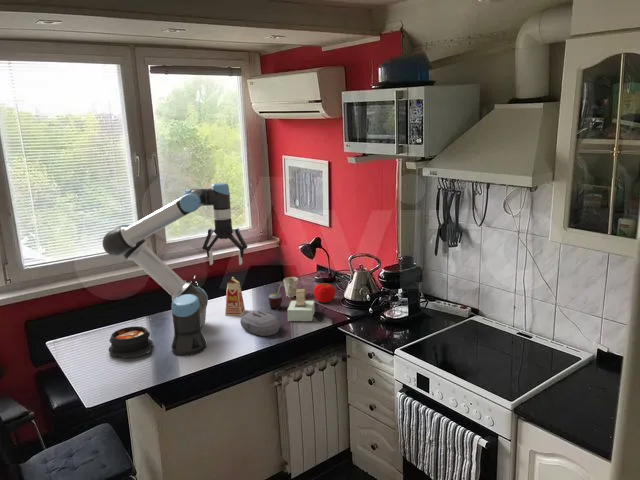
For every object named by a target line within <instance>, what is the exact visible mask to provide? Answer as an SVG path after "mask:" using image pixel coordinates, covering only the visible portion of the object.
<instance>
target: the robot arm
mask: <svg viewBox="0 0 640 480" xmlns="http://www.w3.org/2000/svg"><path fill="white" fill-rule="evenodd" d="M204 206H205V207H206V206H209V207H210V206H212V207H213V218H214V222H213V223H214V229H213V228H209V229H208V230H207V236H206V238H205V240H204V242H203V245H202V250H205V251H206V256H207V258H208V259H209V266H212V265H213V264H214V255H213V249H212V247H213V246H214V245H215V244H216V242H217V241H218V239H220V240H228V239H229V240H230V242H232V243H233V244H234V245H235V247H236V248H237V249H238V265H239V266H242V264H243V258H244V257H245V250H246V249H248V244H247V243H246V242H245V239H244V237H243V236H242V234H241V231H240V228H239V227H238V228H233V223H232V221H233V220H232V218H231V217H232V209H231V193H230V186H229V184H228V183H224V182H222V183H221V182H220V183H219V182H218V183H213V184H211V188H190V189H186V190H184V193H183V196H181V197H179V198H177V199H176V200H173V201H172V202H170V203H168V204H166V205H164V206H163V207H161V208H159V209H157V210H155V211H154V212H152V213H150V214H149V215H146V216H145V217H143V218H141V219H139V220H138V221H136V222H133V223H132V224H127V223H126V224H121V225H119V226H117V227H115V228H114V229H112V230H110V231H108V232H107V233H106V234H105V235H104V236H103V240H102V247H103V250H104V251H105V253H106V254H108V255H109V256H112V257H121V256H122V257H123V258H125V260H127V261H133V262H134V263H135V264H136V265H138V266H139V268H141V269H142V270H143V271H144V272H145V273H146V274H147V275H148V276H149V277H150V278H152V279H153V280H154V282H156V283H157V284H158V285H159V286H161V288H163V290H164V291H166V292H167V293H168V294H169V295H170V296H171V301H172V302H171V306H170V307H171V314H172V322H173V324H172V325H173V332H174V335H173V338H172V342H171V353H172V354H173V355H175V356H180V357H181V356H183V357H186V356H193V355H194V356H195V355H197V354H201V353H202V352H204V351H205V350H207V348H208V345H207V343H208V342H207V340H206V337H205V335H204V333H203V331H202V326H201V320H200V316H201V314H202V313H203V311H204V310H205V309H206V310H207V307H208V302H209V300H208V299H209V296H208V294H207V292H206V291H205V290H204V289H203V288H201V287H199V286H198V287H197V286H195V285H193V284H192V282H187V283H186V282H185V280H183V278H181V277H180V276H179V275H178V274H177V273H176V272H175V271H174V270H173V269H171V268H170V266H169V265H167V264H166V263H165V262H164V261H163V260H162V259H161V258H160V257H159V256H158V255H157V254H155V253H154V251H152V250H151V249H150V248H149V247H148V246H147V244H148V243H147V240H145V239H146V238H147V237H149V236H152V235H153V234H155V233H157V232H158V231H160V230H162V229H164V228H166V227H168V226H169V225H171V224H173V223H174V222H176V221H178V220H180V219H181V218H184V217H185V216H188V215H189V214H191V213H194V212H196V211H197V210H199V208H200V207H204ZM233 233H234V234H235V235H236V237H237V238H235V236H234V235H233ZM213 234H215V237H214V238H213V239H212V241H211V242H210V240H211V238H212V235H213ZM237 239H238V240H237ZM209 242H210V243H209Z"/></svg>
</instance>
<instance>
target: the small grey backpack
mask: <svg viewBox="0 0 640 480" xmlns="http://www.w3.org/2000/svg"><path fill="white" fill-rule="evenodd" d="M239 323H240V326H241V327H242V328H243V330H245V331H247V332H248V333H249V334H253V335H256V336H259V337H260V336H261V337H263V336H264V337H265V336H267V337H268V336H271V335H272V336H273V335H275V334H277V333H278V332H279V330H280V326H281V323H280V320H279V319H278V318H277V317H276V316H275V315H273V314H271V313H270V312H265V311H264V312H263V311H260V310H258V311H256V310H255V311H251V312H250V311H249V312H248V313H245V314H243V315H242V316H241V318H240V322H239Z"/></svg>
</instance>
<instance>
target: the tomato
mask: <svg viewBox="0 0 640 480" xmlns="http://www.w3.org/2000/svg"><path fill="white" fill-rule="evenodd" d="M313 295H314V298H315V300H316V301H317V302H319V303H330V302H332V301H333V299H334V298H335V296H336V289H335V287H334V286H332V284H330V283H327V282H326V283H325V282H323V283H319V284H317V285H316V286H315V287H314V290H313Z"/></svg>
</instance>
